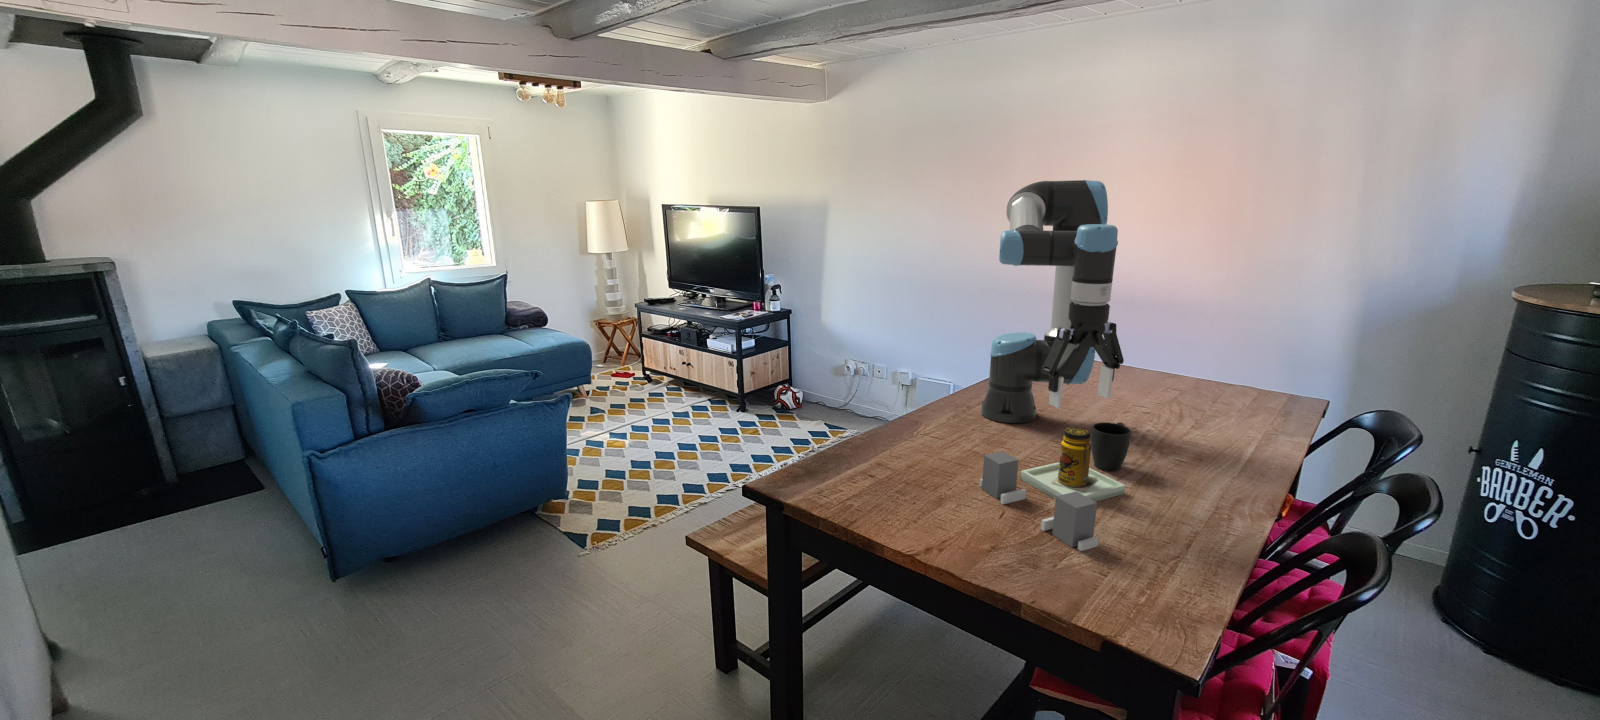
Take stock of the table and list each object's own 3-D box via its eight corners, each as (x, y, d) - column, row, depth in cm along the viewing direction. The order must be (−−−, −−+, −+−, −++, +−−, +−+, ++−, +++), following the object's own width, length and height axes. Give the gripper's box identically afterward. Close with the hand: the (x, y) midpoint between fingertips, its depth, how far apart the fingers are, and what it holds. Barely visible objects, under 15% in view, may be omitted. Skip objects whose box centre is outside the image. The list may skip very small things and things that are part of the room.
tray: (1020, 478, 148) (1020, 470, 148) (1071, 467, 154) (1072, 459, 153) (1070, 508, 135) (1071, 499, 135) (1124, 493, 141) (1125, 485, 140)
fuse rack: (975, 486, 145) (977, 452, 143) (997, 481, 147) (999, 448, 145) (1076, 552, 119) (1081, 512, 117) (1101, 545, 121) (1106, 505, 119)
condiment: (1050, 483, 144) (1055, 432, 141) (1064, 470, 150) (1069, 421, 147) (1085, 492, 139) (1090, 440, 136) (1097, 479, 145) (1103, 428, 142)
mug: (1137, 461, 157) (1142, 423, 154) (1119, 477, 148) (1123, 438, 146) (1101, 451, 162) (1105, 415, 160) (1082, 467, 154) (1086, 429, 151)
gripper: (1055, 311, 126) (1046, 415, 131) (1150, 299, 135) (1137, 397, 141) (1028, 304, 132) (1020, 404, 138) (1120, 294, 142) (1109, 388, 147)
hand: (1079, 401), depth 139 cm, fingers open, 13 cm apart
